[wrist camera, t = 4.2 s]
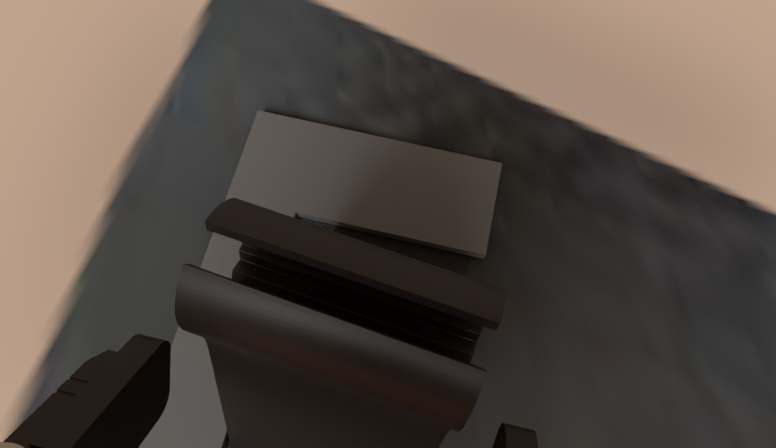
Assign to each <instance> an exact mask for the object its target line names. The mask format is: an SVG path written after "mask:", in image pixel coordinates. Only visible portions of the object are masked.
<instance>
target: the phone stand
mask: <svg viewBox="0 0 776 448" xmlns="http://www.w3.org/2000/svg"><path fill="white" fill-rule="evenodd" d="M205 223H206V227H207V230H209V231H212V232H214V233H217V234H220V235H223V236H226V237H229V238H232V239H235V240H237V241H240V242H242V245H241V247H240V249H239V255H240V260H239V262H238V263H237V264H236V266H235V267H234V269H233V270H232V279H231V278H228V277H225V276H222V275H219V274H217V273H214V272H211V271H208V270H205V269H203V268H200V267H197V266H194V265H191V264H183V267H182V270H181V274H180V277H179V281H178V286H177V291H176V298H175V316H176V320H177V323H178V325H179V327H180V328H181V329H182V330H184V331H187V332H190V333H192V334H195V335H198V336H201V337H203V338H204V339H205V341H206V343H207V346H208V350H209V354H210V358H211V363H212V367H213V371H214V376H215V380H216V384H217V389H218V393H219V397H220V401H221V406H222V410H223V414H224V419H225V423H226V427H227V432H228V436H229V440H230V445H231V448H438V447H439V445H440V444H441V442H442V441H443V439H444V437H445V436H446V434H447V433H448V431H449V430H450V429H453V430H456V431H458V432H459V431H461V430H462V428H463V427H464V425H465V424H466V422H467V420H468V418H469V416H470V414H471V412H472V410H473V408H474V405H475V403H476V400H477V398H478V395H479V393H480V390H481V387H482V385H483V382H484V379H485V376H486V373H487V371H486V369H484V368H481V367H478V366H475V365H473V364H470V361H471V359H472V357H473V353H474V349H475V344H476V341H477V339H478V338H479V336H480V333H481V330H482V327H483V326H485V327H487V328H490V329H493V330H497V328H498V326H499V325H500V323H501V318H502V313H503V306H504V290H503V289H502V288H499V287H496V286H493V285H490V284H487V283H484V282H481V281H478V280H475V279H473V278H470V277H467V276H464V275H461V274H458V273H455V272H452V271H449V270H446V269H443V268H440V267H437V266H434V265H431V264H428V263H426V262H423V261H420V260H417V259H414V258H411V257H408V256H405V255H402V254H399V253H396V252H393V251H390V250H387V249H384V248H381V247H378V246H376V245H373V244H370V243H367V242H364V241H361V240H358V239H355V238H352V237H349V236H346V235H343V234H340V233H337V232H334V231H331V230H328V229H326V228H323V227H320V226H317V225H314V224H311V223H308V222H305V221H302V220H299V219H296V218H293V217H290V216H287V215H284V214H281V213H279V212H276V211H273V210H270V209H267V208H264V207H261V206H258V205H255V204H252V203H249V202H246V201H243V200H240V199H237V198H231V199H228V200H226V201H224V202H223V203H221V204H220V205H219V206H218V207H217V208H216V209H215V210H214V211H213V212H212V213H211V214H210V215H209V217H208V218H207V219H206V221H205Z"/></svg>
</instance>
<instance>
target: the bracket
mask: <svg viewBox="0 0 776 448" xmlns="http://www.w3.org/2000/svg"><path fill="white" fill-rule="evenodd" d="M501 167H502V163H500V162H495V161H491V160H486V159H481V158H477V157H472V156H467V155H463V154H458V153H454V152H449V151H444V150H440V149H435V148H430V147H426V146H421V145H417V144H412V143H407V142H403V141H398V140H393V139H389V138H384V137H380V136H375V135H370V134H366V133H361V132H356V131H352V130H347V129H342V128H338V127H333V126H329V125H324V124H319V123H315V122H310V121H305V120H301V119H296V118H292V117H287V116H282V115H278V114H273V113H268V112H264V111H259V110H258V112H257V114H256V117H255V120H254V123H253V125H252V128H251V131H250V134H249V136H248V139H247V142H246V144H245V147H244V150H243V153H242V155H241V158H240V161H239V163H238V166H237V169H236V172H235V174H234V177H233V180H232V183H231V185H230V188H229V191H228V193H227V196H226V199H225V201H226V200H228V199H231V198H237V199H240V200H243V201H246V202H249V203H252V204H255V205H258V206H261V207H264V208H267V209H270V210H273V211H276V212H279V213H281V214H284V215H287V216H290V217H293V218H296V219H297V217H301V218H305V219H310V220H314V221H319V222H323V223H327V224H332V225H336V226H341V227H345V228H349V229H354V230H358V231H363V232H367V233H372V234H376V235H380V236H385V237H389V238H394V239H398V240H402V241H407V242H411V243H416V244H420V245H424V246H429V247H433V248H438V249H442V250H447V251H451V252H455V253H460V254H464V255H469V256H473V257H477V258H482V259H484V258H485V256H486V252H487V246H488V241H489V235H490V229H491V224H492V218H493V212H494V207H495V201H496V195H497V190H498V184H499V179H500V173H501ZM241 245H242V242H240V241H237V240H235V239H232V238H229V237H226V236H223V235H220V234H217V233H214V232H213V234H212V237H211V240H210V242H209V245H208V248H207V251H206V253H205V256H204V259H203V261H202V264H201V267H200V268H203V269H205V270H208V271H211V272H214V273H217V274H219V275H222V276H225V277H228V278H231V279H232V270H233V269H234V267H235V266H236V264H237V263H238V262H239V260H240V255H239V249H240V247H241ZM227 439H228V432H227V427H226V423H225V419H224V414H223V410H222V406H221V401H220V397H219V393H218V389H217V384H216V380H215V376H214V371H213V367H212V363H211V358H210V354H209V350H208V346H207V343H206V341H205V339H204V338H203V337H201V336H198V335H195V334H192V333H190V332H187V331H184V330H182V329H181V328H180V327H178V330H177V332H176V335H175V338H174V340H173V343H172V346H171V361H170V393H169V398H168V402H167V405H166V407H165V410H164V412H163V414H162V415H161V417H160V418H159V420H158V421H157V423H156V424H155V425H154V427H153V428H152V430H151V431H150V432H149V434H148V435H147V437H146V438H145V439H144V441H143V442H142V443H141V445H140V446H139V448H225V446H226V443H227Z"/></svg>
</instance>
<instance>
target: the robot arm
mask: <svg viewBox="0 0 776 448" xmlns="http://www.w3.org/2000/svg"><path fill="white" fill-rule="evenodd" d="M170 361H171V346H170V343H169V341H166V340H161V339H157V338H153V337H149V336H145V335H141V334H136V335H135V336H133V337H132V338H131V339H130V340H129V341H128V342H127V343H126V344H125V345H124V346H123V347H122V348H121V349H120V350H119V351H118V352H115V351H111V350H107V351H105V352H103V353H101V354H99V355H97V356H95V357H93V358H91V359H90V360H88V361H86V362H85V363H84V364H83V365H82V366H81V367H80V368H79V369H78V370H77V371H76V372H75V373H74V374H73V375H72V376H70V379H69V380H66V381H65V382H64V383H63V384H62V385H61V386H60V387H59V388H58V389H57V392H56V393H53V394H52V395H51V396H50V397H49V398H48V399H47V400H46V401H45V402H44V403H43V404H42V405H41V406H40V407H39V408H38V409H37V410H36V411H35V412H34V413H33V414H32V415H30V416H29V417H28V418H27V419H26V420H25V421H24V422H23V423H22V424H21V425H20V426H19V427H18V428H17V429H16V430H15V431H14V432H13V433H12V434H11V435H10V436H9V437H8V438H7V439H6V440H5V441H4V442H0V448H139V446H140V445H141V443H142V442H143V441H144V439H145V438H146V437H147V435H148V434H149V432H150V431H151V430H152V428H153V427H154V425H155V424H156V423H157V421H158V420H159V418H160V417H161V415H162V414H163V412H164V410H165V407H166V405H167V402H168V398H169V393H170ZM493 448H538V443H537V436H536V433H535V431H534V430H530V429H526V428H522V427H518V426H514V425H509V424H505V423H502V424H501V426H500V428H499V430H498V433H497V436H496V439H495V442H494V445H493Z"/></svg>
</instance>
